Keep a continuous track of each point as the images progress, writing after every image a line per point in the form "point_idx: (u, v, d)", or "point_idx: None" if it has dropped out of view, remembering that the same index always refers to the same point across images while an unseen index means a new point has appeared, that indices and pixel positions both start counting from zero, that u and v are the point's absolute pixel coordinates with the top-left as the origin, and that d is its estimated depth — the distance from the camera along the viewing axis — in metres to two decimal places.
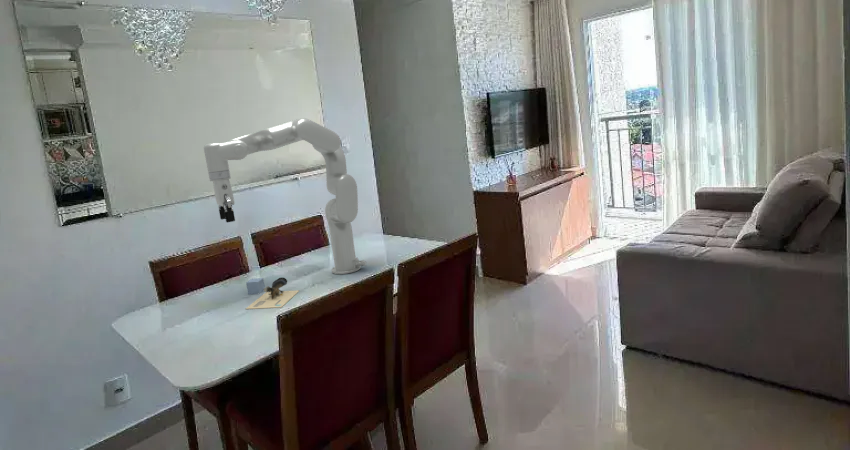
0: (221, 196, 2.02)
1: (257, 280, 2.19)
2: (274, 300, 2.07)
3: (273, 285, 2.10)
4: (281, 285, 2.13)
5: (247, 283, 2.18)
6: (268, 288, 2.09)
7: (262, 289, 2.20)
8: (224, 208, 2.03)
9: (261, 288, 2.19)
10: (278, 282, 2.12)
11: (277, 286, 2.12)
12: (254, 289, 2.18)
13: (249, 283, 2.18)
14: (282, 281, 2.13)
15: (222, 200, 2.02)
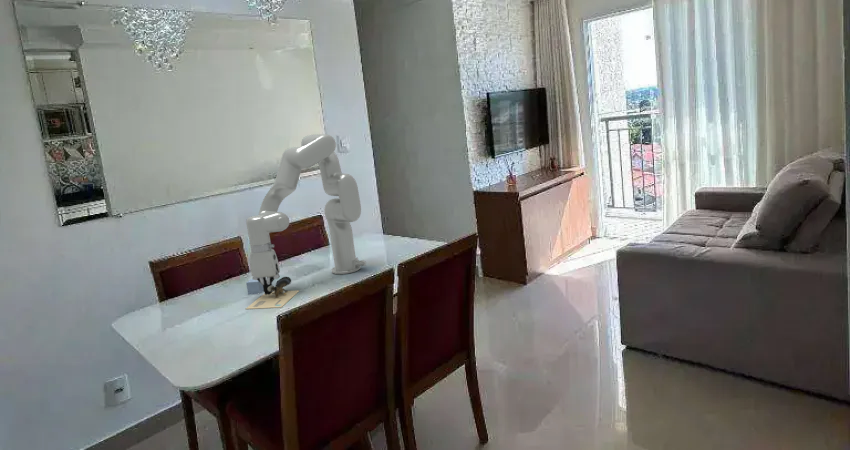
0: (274, 266, 2.08)
1: (257, 280, 2.19)
2: (274, 300, 2.07)
3: (277, 284, 2.11)
4: (285, 284, 2.13)
5: (247, 283, 2.18)
6: (272, 287, 2.09)
7: (262, 289, 2.20)
8: (268, 280, 2.10)
9: (261, 288, 2.19)
10: (282, 281, 2.13)
11: (281, 285, 2.12)
12: (254, 289, 2.18)
13: (249, 283, 2.18)
14: (286, 280, 2.14)
15: (275, 270, 2.08)
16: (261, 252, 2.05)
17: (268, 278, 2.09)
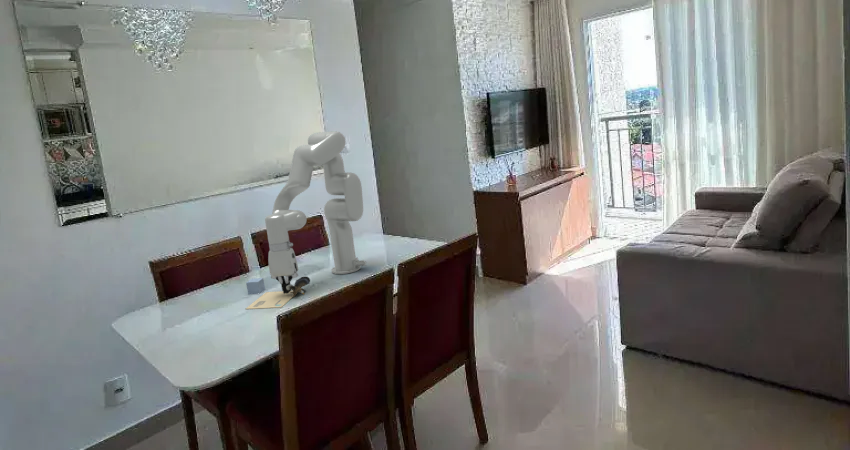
0: (292, 265, 2.06)
1: (257, 280, 2.19)
2: (274, 300, 2.07)
3: (296, 283, 2.09)
4: (304, 284, 2.12)
5: (247, 283, 2.18)
6: (290, 286, 2.08)
7: (262, 289, 2.20)
8: (286, 279, 2.08)
9: (261, 288, 2.19)
10: (301, 281, 2.11)
11: (300, 284, 2.11)
12: (254, 289, 2.18)
13: (249, 283, 2.18)
14: (305, 280, 2.12)
15: (293, 269, 2.07)
16: (280, 251, 2.04)
17: (287, 277, 2.08)
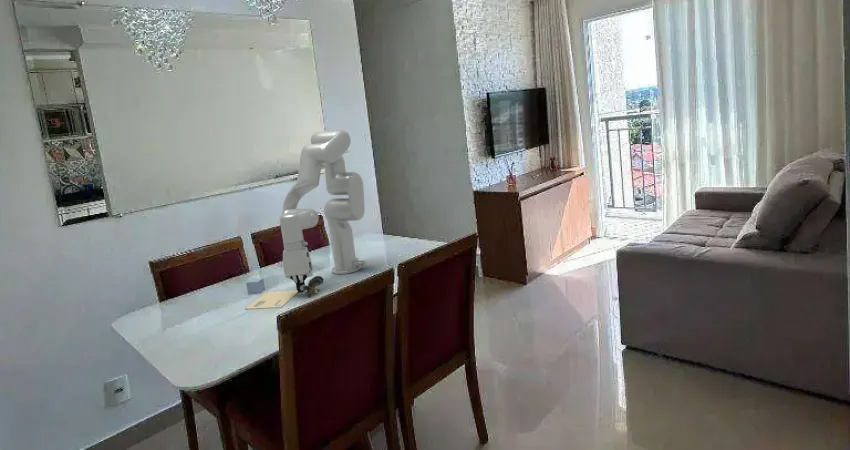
0: (307, 264, 2.06)
1: (257, 280, 2.19)
2: (274, 300, 2.07)
3: (309, 284, 2.08)
4: (317, 284, 2.11)
5: (247, 283, 2.18)
6: (304, 286, 2.07)
7: (262, 289, 2.20)
8: (301, 278, 2.08)
9: (261, 288, 2.19)
10: (314, 281, 2.10)
11: (313, 284, 2.10)
12: (254, 289, 2.18)
13: (249, 283, 2.18)
14: (318, 280, 2.11)
15: (308, 268, 2.06)
16: (295, 250, 2.03)
17: (301, 276, 2.07)
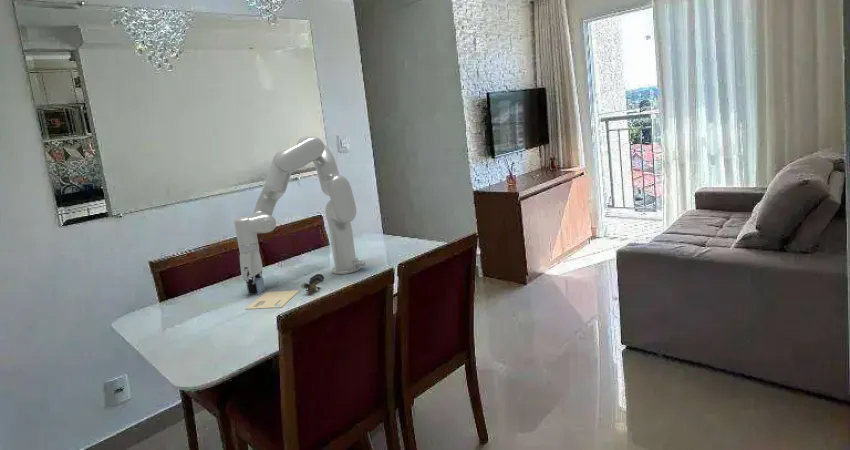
0: None
1: (257, 280, 2.19)
2: (274, 300, 2.07)
3: (310, 281, 2.11)
4: (318, 282, 2.13)
5: None
6: (305, 284, 2.10)
7: (262, 289, 2.20)
8: (260, 275, 2.22)
9: (261, 288, 2.19)
10: (315, 279, 2.13)
11: (314, 282, 2.12)
12: None
13: None
14: (319, 278, 2.14)
15: None
16: None
17: (260, 273, 2.22)
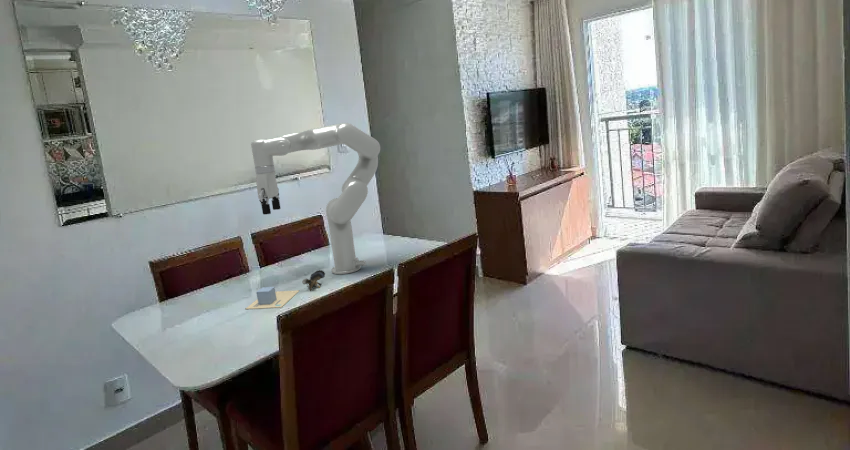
0: None
1: (268, 289, 2.04)
2: None
3: (311, 277, 2.16)
4: (319, 278, 2.19)
5: (257, 292, 2.03)
6: (306, 280, 2.15)
7: (273, 299, 2.05)
8: (277, 196, 2.27)
9: (272, 298, 2.04)
10: (316, 275, 2.18)
11: (315, 278, 2.18)
12: (265, 299, 2.03)
13: (259, 293, 2.02)
14: (320, 274, 2.19)
15: None
16: None
17: (277, 194, 2.27)
